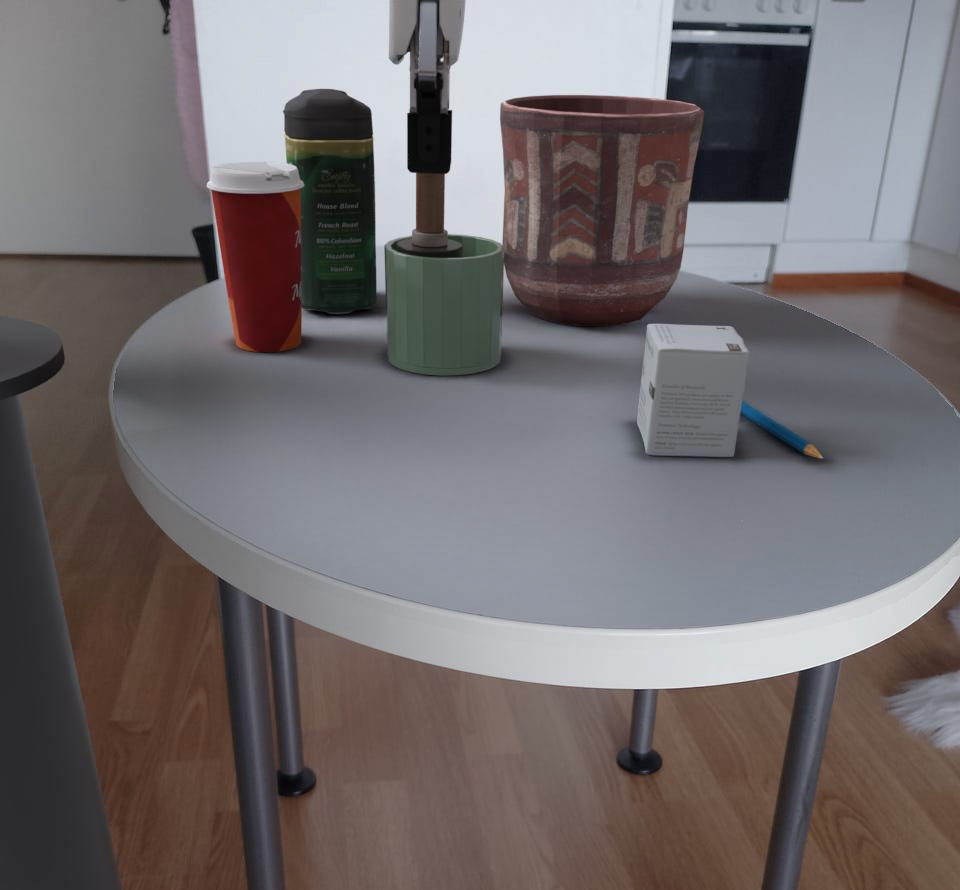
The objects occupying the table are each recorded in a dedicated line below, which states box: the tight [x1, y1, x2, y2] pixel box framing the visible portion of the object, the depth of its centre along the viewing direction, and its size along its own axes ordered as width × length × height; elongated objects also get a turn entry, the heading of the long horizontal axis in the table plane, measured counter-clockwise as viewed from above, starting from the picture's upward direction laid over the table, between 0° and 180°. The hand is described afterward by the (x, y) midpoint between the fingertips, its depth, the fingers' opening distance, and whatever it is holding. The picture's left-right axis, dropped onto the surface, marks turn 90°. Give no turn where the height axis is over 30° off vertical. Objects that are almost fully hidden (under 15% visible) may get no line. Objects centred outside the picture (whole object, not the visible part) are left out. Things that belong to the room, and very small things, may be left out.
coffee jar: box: [282, 88, 377, 315], centre depth 100 cm, size 10×8×19 cm
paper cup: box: [206, 161, 304, 353], centre depth 90 cm, size 8×8×14 cm
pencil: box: [740, 400, 824, 459], centre depth 79 cm, size 1×17×1 cm, turn 19°
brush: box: [397, 92, 463, 258], centre depth 84 cm, size 5×5×15 cm
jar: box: [383, 233, 505, 377], centre depth 88 cm, size 9×9×9 cm
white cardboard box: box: [636, 323, 751, 458], centre depth 73 cm, size 6×6×7 cm
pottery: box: [499, 94, 705, 327], centre depth 100 cm, size 18×18×18 cm
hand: (429, 167), depth 83 cm, fingers closed on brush
